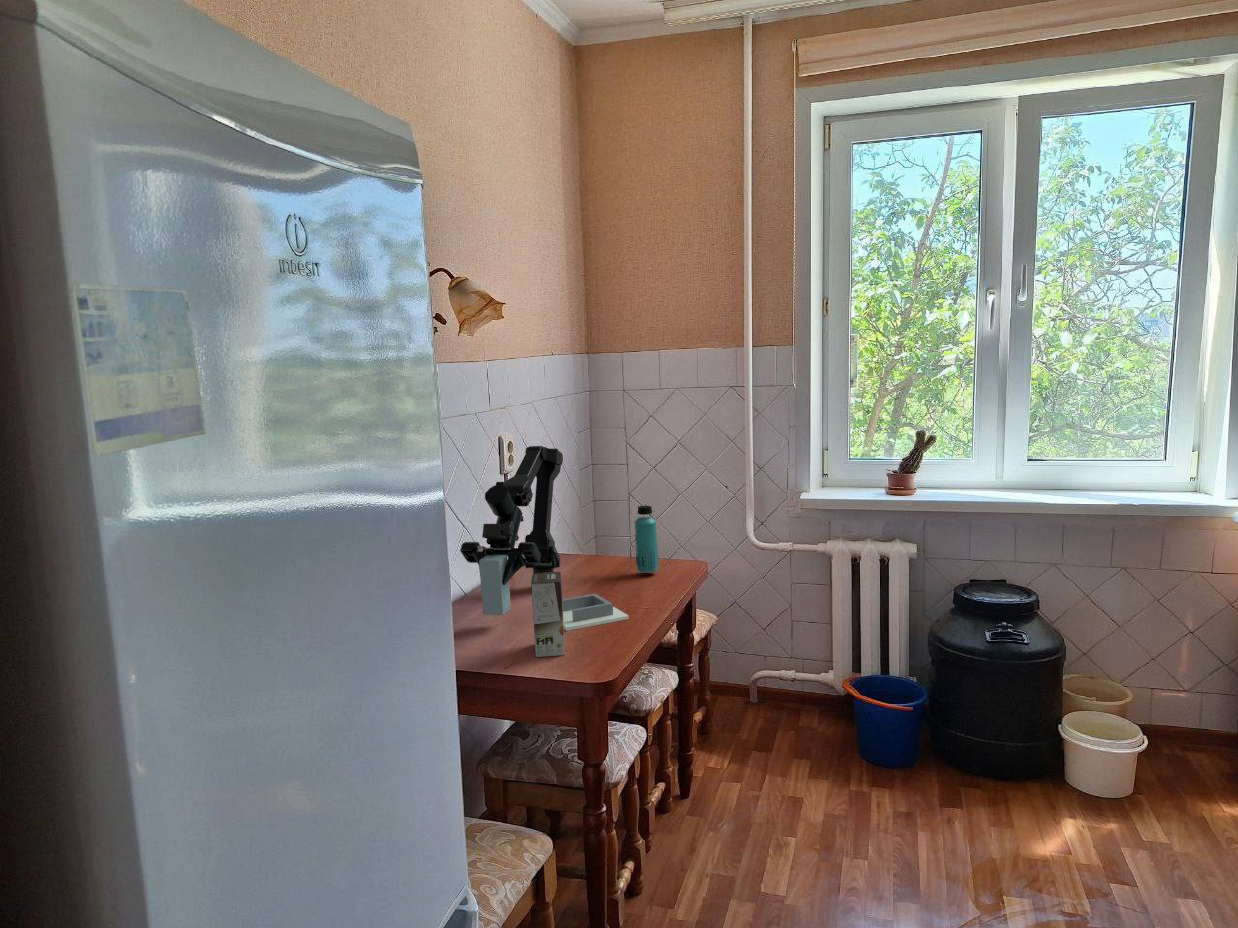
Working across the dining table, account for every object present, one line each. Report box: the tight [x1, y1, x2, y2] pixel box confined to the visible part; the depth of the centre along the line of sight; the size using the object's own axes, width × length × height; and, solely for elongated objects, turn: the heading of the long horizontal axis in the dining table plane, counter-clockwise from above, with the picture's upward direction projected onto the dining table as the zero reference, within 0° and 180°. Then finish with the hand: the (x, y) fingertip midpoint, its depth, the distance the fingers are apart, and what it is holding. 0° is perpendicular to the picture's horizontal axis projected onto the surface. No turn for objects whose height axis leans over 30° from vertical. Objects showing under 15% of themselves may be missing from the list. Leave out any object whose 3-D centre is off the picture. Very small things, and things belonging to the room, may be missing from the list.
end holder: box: [562, 593, 630, 632], centre depth 201 cm, size 16×16×4 cm
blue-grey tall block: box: [478, 555, 512, 616], centre depth 195 cm, size 5×5×13 cm
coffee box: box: [530, 571, 565, 658], centre depth 178 cm, size 9×6×16 cm
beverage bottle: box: [634, 505, 660, 573], centre depth 235 cm, size 6×7×20 cm
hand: (492, 583), depth 193 cm, fingers closed on blue-grey tall block, 5 cm apart
